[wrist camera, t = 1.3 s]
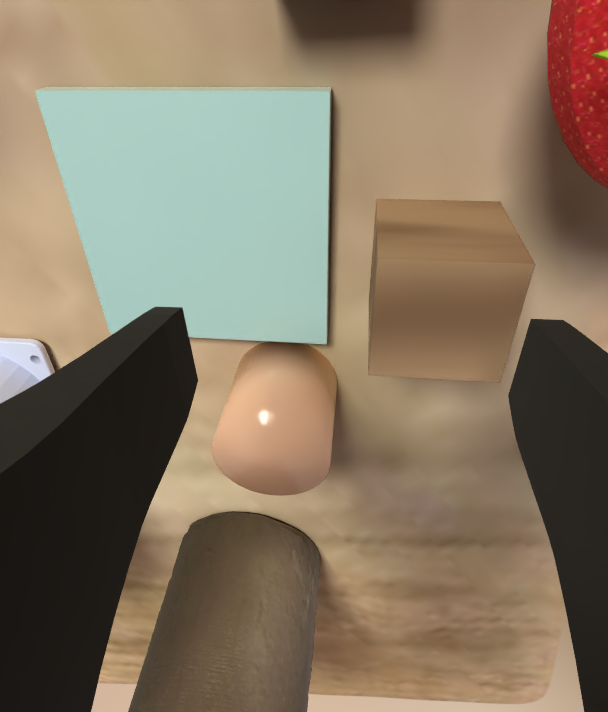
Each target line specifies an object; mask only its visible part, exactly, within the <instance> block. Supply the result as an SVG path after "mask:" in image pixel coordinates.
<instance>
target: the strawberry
mask: <svg viewBox="0 0 608 712" xmlns="http://www.w3.org/2000/svg"><path fill="white" fill-rule="evenodd" d="M547 43H548V84H549V90H550V96H551V102H552V108H553V113H554V116H555V119H556V121H557V124H558V127H559V130H560V132H561V135H562V138H563V141H564V142H565V144H566V145H567V147H568V149H569V150H570V152H571V153H572V155H573V157H574V158H575V160H576V162H577V163H578V164H579V165H580V166H581V167H582V168H583V169H584V170H585V171H586V172H587V173H588V174H589V175H590V176H591V177H592V178H593V179H594V180H595V181H597V182H599V183H600V184H602V185H604V186H605V187H607V188H608V0H552V4H551V11H550V18H549V25H548V33H547Z"/></svg>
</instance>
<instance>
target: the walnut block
mask: <svg viewBox="0 0 608 712" xmlns="http://www.w3.org/2000/svg"><path fill="white" fill-rule="evenodd" d="M534 266H535V263H534V261H533V259H532V258H531V256H530V254H529V252H528V250H527V249H526V247H525V245H524V243H523V241H522V240H521V238H520V236H519V234H518V233H517V231H516V229H515V227H514V225H513V224H512V222H511V220H510V218H509V217H508V215H507V213H506V211H505V209H504V208H503V206H502V204H501V202H492V201H447V200H402V199H376V213H375V226H374V240H373V253H372V267H371V280H370V294H369V366H368V375H375V376H393V377H411V378H429V379H447V380H465V381H483V382H500V381H501V378H502V374H503V371H504V368H505V364H506V361H507V357H508V354H509V351H510V347H511V344H512V341H513V337H514V334H515V330H516V327H517V324H518V320H519V317H520V314H521V310H522V307H523V303H524V300H525V297H526V293H527V290H528V287H529V283H530V280H531V276H532V273H533V270H534Z"/></svg>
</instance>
